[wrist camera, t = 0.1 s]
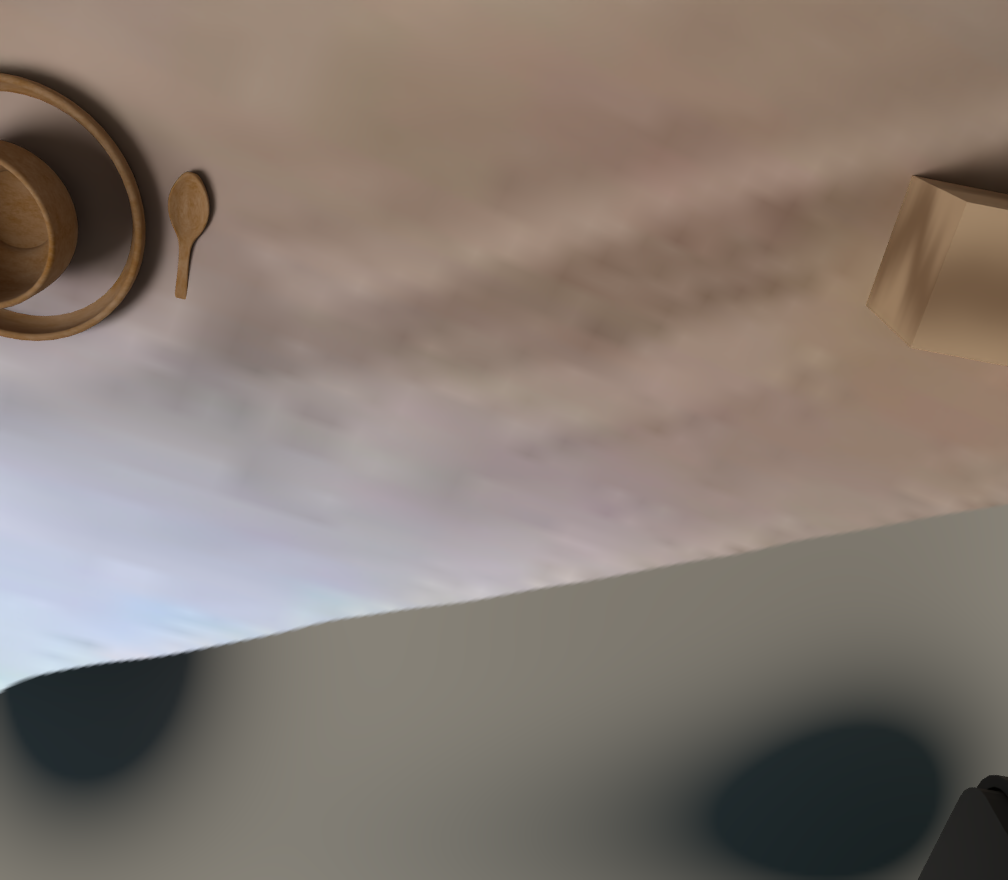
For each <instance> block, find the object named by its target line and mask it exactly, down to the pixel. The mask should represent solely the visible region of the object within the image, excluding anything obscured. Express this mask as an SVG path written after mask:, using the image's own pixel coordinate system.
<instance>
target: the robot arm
mask: <svg viewBox="0 0 1008 880" xmlns="http://www.w3.org/2000/svg"><path fill="white" fill-rule="evenodd" d="M918 880H1008V777H1005V776H999V775H989V776H988V777H986V778H985V779H983V780H982V781H981V782H980V784H979V785H978V787H977V788H968V789H966V790H965V791H964V792H963V793H962V795H961V796H960V798H959V800H958V802H957V804H956V806H955V808H954V810H953V811H952V813H951V815H950V817H949V819H948V821H947V823H946V825H945V827H944V829H943V831H942V833H941V835H940V837H939V839H938V841H937V843H936V845H935V847H934V849H933V851H932V853H931V855H930V857H929V859H928V861H927V863H926V865H925V867H924V869H923V871H922V872H921V874H920V877H919V878H918Z"/></svg>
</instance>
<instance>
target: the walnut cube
mask: <svg viewBox="0 0 1008 880" xmlns="http://www.w3.org/2000/svg"><path fill="white" fill-rule="evenodd" d="M866 306H867V307H868V308H869V309H870V310H871V311H872V312H873V313H875V314H876V315H877V316H878V317H879V318H880V319H881V320H882V321H883V322H884V323H885V324H886V325H887V326H888V327H889V328H890V329H891V330H892V331H893V332H894V333H895V334H897V335H898V336H899V337H900V338H901V339H902V340H903V341H904V342H905V343H906V344H907V345H908V346H909V347H910V348H913V349H918V350H924V351H929V352H934V353H940V354H945V355H950V356H955V357H961V358H966V359H971V360H976V361H982V362H987V363H992V364H997V365H1003V366H1008V194H1004V193H999V192H994V191H989V190H984V189H979V188H974V187H969V186H963V185H958V184H953V183H948V182H943V181H938V180H933V179H928V178H923V177H918V176H913V175H912V178H911V181H910V184H909V187H908V189H907V192H906V195H905V198H904V201H903V203H902V206H901V209H900V212H899V215H898V217H897V220H896V223H895V226H894V228H893V231H892V234H891V237H890V240H889V242H888V245H887V248H886V251H885V254H884V256H883V259H882V262H881V265H880V268H879V270H878V273H877V276H876V279H875V282H874V284H873V287H872V290H871V293H870V295H869V298H868V301H867V304H866Z"/></svg>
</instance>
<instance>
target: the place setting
mask: <svg viewBox="0 0 1008 880" xmlns="http://www.w3.org/2000/svg"><path fill="white" fill-rule="evenodd" d="M0 91H7V92H14V93H19V94H25V95H28V96H31V97H34V98H37V99H40V100H42V101H44V102H46V103H49V104H51V105H53V106H55V107H57V108H58V109H60V110H62V111H63V112H65V113H67V114H68V115H70V116H71V117H72V118H74V119H75V120H76V121H77V122H79V123H80V124H81V125H83V126H84V127H85V128H86V129H87V130H88V131H89V132H90V133H91V134H92V135H93V136H94V137H95V138H96V139H97V141H98V142H99V143H100V144H101V146H102V147H103V148H104V149H105V150H106V152H107V153H108V155H109V156H110V158H111V159H112V161H113V163H114V164H115V166H116V168H117V170H118V172H119V174H120V176H121V178H122V180H123V183H124V186H125V188H126V191H127V194H128V198H129V202H130V206H131V213H132V222H133V226H132V242H131V249H130V253H129V256H128V259H127V262H126V265H125V267H124V269H123V271H122V273H121V275H120V277H119V278H118V279H117V281H116V282H115V284H114V285H113V286H112V287H111V288H110V290H109V291H108V292H107V293H106V294H105V295H103V296H102V297H101V298H100V299H98V300H97V301H96V302H94V303H92V304H90V305H89V306H87V307H85V308H83V309H80V310H77V311H75V312H72V313H68V314H63V315H57V316H31V315H26V314H20V313H16V312H12V311H9V310H6V309H3V308H6V307H11V306H14V305H17V304H19V303H22V302H23V301H25V300H27V299H29V298H30V297H32V296H34V295H35V294H37V293H39V292H40V291H42V290H44V289H45V288H46V287H48V286H49V285H50V284H52V283H53V282H54V281H55V280H56V279H57V278H58V277H59V276H60V275H61V274H62V273H63V272H64V271H65V269H66V268H67V266H68V265H69V263H70V261H71V259H72V257H73V255H74V252H75V248H76V245H77V238H78V223H77V215H76V211H75V208H74V204H73V202H72V199H71V197H70V195H69V193H68V191H67V189H66V187H65V186H64V184H63V183H62V181H61V180H60V178H59V177H58V176H57V175H56V173H55V172H54V171H53V170H52V169H51V168H50V167H49V166H48V165H47V164H46V163H45V162H44V161H42V160H41V159H40V158H38V157H37V156H36V155H34V154H33V153H31V152H29V151H28V150H26V149H24V148H22V147H20V146H17V145H15V144H12V143H9V142H6V141H3V140H0V336H3V337H8V338H13V339H19V340H32V341H42V340H55V339H59V338H64V337H69V336H72V335H75V334H77V333H80V332H83V331H85V330H87V329H89V328H90V327H92V326H94V325H96V324H97V323H99V322H100V321H101V320H103V319H104V318H105V317H107V316H108V315H109V314H110V313H111V312H112V311H113V310H114V309H115V308H116V307H117V306H118V305H119V304H120V303H121V302H122V301H123V299H124V298H125V296H126V295H127V294H128V292H129V291H130V289H131V287H132V285H133V283H134V281H135V279H136V277H137V275H138V272H139V269H140V266H141V263H142V260H143V254H144V248H145V230H146V225H145V216H144V208H143V204H142V200H141V196H140V192H139V189H138V186H137V183H136V181H135V178H134V175H133V173H132V171H131V169H130V167H129V165H128V163H127V161H126V159H125V158H124V156H123V155H122V153H121V151H120V150H119V148H118V147H117V145H116V144H115V142H114V141H113V140H112V139H111V137H110V136H109V135H108V134H107V133H106V131H105V130H104V129H103V128H102V127H101V126H100V125H99V124H98V123H97V122H96V121H95V120H94V119H93V118H92V117H91V116H90V115H89V114H88V113H87V112H85V111H84V110H83V109H82V108H80V107H79V106H78V105H76V104H75V103H74V102H73V101H71V100H69V99H68V98H66V97H65V96H63V95H61V94H60V93H58V92H56V91H55V90H53V89H50V88H48V87H46V86H44V85H42V84H40V83H38V82H35V81H32V80H29V79H25V78H22V77H19V76H15V75H10V74H5V73H0ZM168 212H169V217H170V220H171V223H172V226H173V228H174V230H175V232H176V234H177V237H178V241H179V262H178V272H177V281H176V289H175V296H176V297H177V298H181V299H186V295H187V286H188V271H189V259H190V252H191V248H192V245H193V243H194V241H195V240H196V239H197V238H198V237H199V235H200V234H201V233H202V232H203V230H204V228H205V226H206V224H207V222H208V218H209V212H210V205H209V199H208V195H207V191H206V188H205V186H204V184H203V182H202V180H201V178H200V177H199V176H198V175H197V174H196V173H192V172H185V173H184V174H182V175H181V176H180V177H179V178H178V180H177V181H176V182H175V184H174V185H173V187H172V189H171V192H170V194H169V198H168Z"/></svg>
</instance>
